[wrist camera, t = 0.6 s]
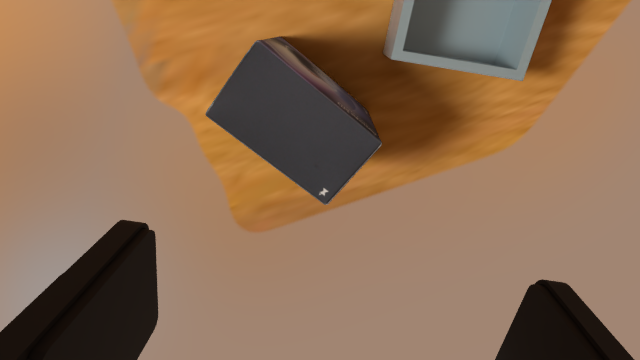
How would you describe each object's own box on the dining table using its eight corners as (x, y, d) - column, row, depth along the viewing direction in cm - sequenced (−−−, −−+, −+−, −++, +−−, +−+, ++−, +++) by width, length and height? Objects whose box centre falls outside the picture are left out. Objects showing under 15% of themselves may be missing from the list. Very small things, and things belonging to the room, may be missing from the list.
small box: (373, 109, 34) (389, 143, 25) (328, 160, 36) (326, 211, 27) (280, 30, 32) (257, 34, 22) (237, 90, 34) (200, 118, 24)
